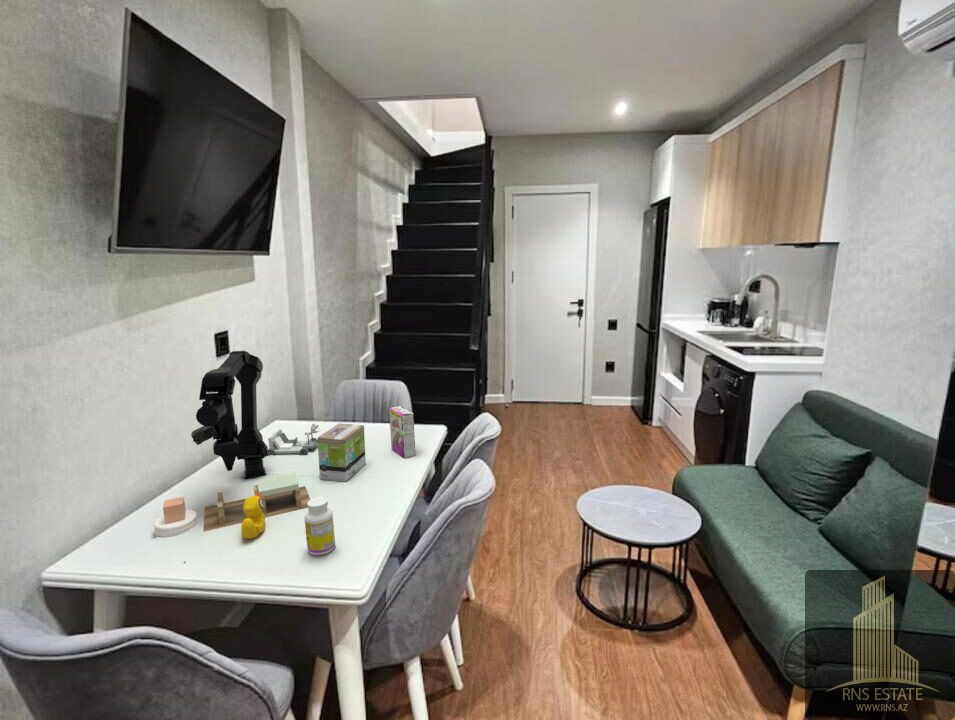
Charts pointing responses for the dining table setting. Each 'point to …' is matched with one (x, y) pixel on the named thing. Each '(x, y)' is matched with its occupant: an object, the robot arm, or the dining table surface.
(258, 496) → the duckling
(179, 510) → the block
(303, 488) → the wooden slotted rack
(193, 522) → the coaster
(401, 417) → the candy bar box
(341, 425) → the tea box
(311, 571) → the dining table surface
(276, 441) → the toy car
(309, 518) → the supplement bottle
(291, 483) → the cover
